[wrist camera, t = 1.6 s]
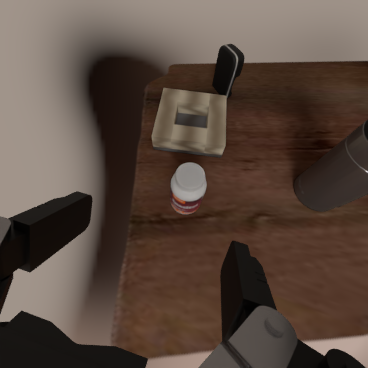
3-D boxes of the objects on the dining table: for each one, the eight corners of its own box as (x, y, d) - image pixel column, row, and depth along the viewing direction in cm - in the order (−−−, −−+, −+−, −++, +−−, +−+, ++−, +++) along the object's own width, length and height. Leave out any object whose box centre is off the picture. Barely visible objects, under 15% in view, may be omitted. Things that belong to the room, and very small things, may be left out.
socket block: (222, 109, 52) (226, 95, 48) (220, 157, 44) (225, 145, 40) (164, 102, 52) (163, 87, 48) (153, 149, 45) (151, 136, 41)
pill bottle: (168, 212, 38) (166, 189, 28) (173, 185, 41) (173, 155, 31) (198, 217, 38) (208, 195, 28) (202, 189, 40) (211, 161, 31)
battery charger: (234, 96, 55) (249, 54, 44) (224, 100, 54) (236, 58, 43) (221, 82, 57) (232, 39, 47) (211, 85, 56) (219, 42, 46)
